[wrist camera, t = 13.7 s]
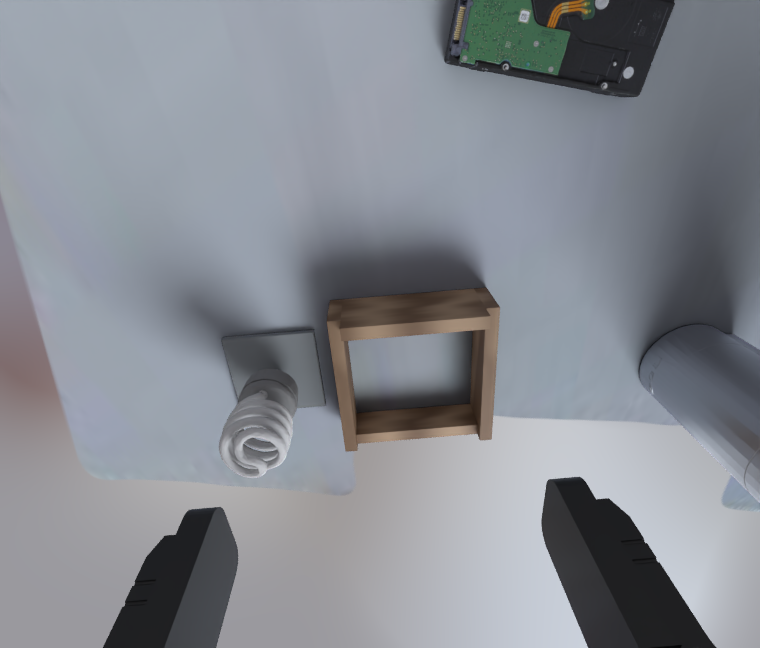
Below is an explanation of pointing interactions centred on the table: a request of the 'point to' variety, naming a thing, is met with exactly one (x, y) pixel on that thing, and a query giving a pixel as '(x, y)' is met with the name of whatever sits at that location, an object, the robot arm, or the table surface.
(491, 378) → the wooden frame
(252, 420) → the light bulb
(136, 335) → the table surface
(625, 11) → the disk drive
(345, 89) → the table surface
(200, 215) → the table surface
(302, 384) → the slate mat
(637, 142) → the table surface
